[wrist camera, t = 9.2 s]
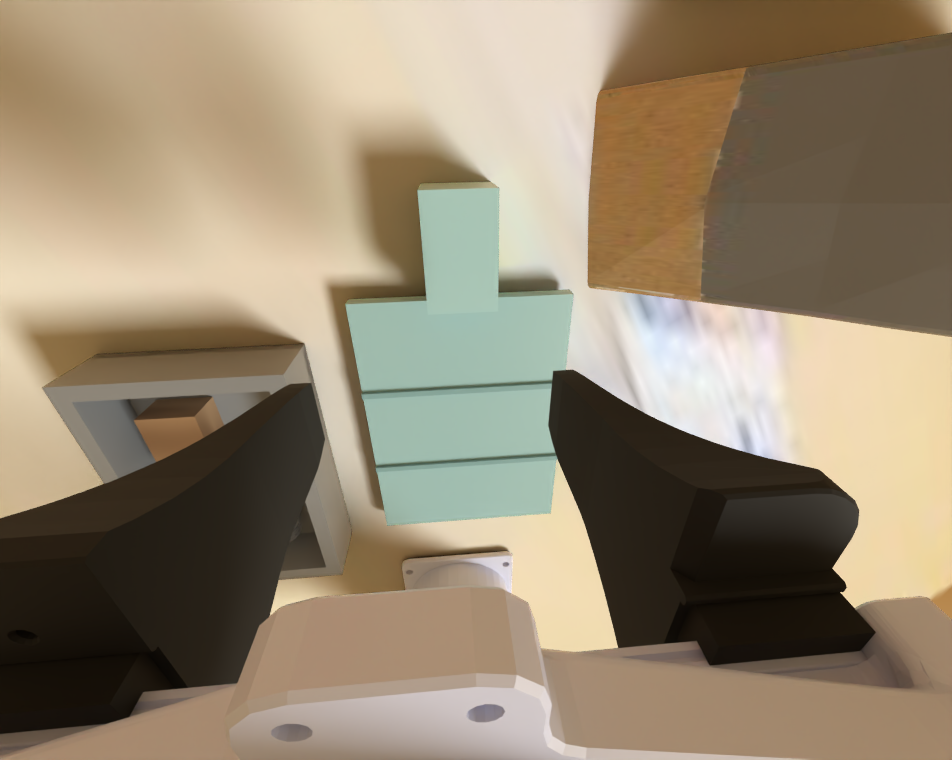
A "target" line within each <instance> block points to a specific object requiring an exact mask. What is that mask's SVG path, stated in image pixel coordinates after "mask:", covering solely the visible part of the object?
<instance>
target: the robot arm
mask: <svg viewBox="0 0 952 760" xmlns="http://www.w3.org/2000/svg"><path fill="white" fill-rule="evenodd" d="M548 427H549V431H550V435H551V439H552V443H553V447H554V450H555V454H556V456H557V459H558V461H559V463H560V466H561V468H562V470H563V473H564V475H565V478H566V480H567V482H568V485H569V487H570V489H571V492H572V494H573V496H574V499H575V501H576V503H577V506H578V508H579V510H580V513H581V515H582V518H583V521H584V524H585V526H586V530H587V533H588V536H589V540H590V543H591V546H592V550H593V553H594V556H595V560H596V564H597V567H598V571H599V574H600V578H601V581H602V585H603V589H604V592H605V596H606V600H607V604H608V608H609V612H610V616H611V620H612V624H613V628H614V632H615V636H616V640H617V645H618V648H614V649H604V650H593V651H582V652H568V651H560V650H551V649H542V648H540V643H539V638H538V633H537V628H536V623H535V620H534V617H533V614H532V612H531V609H530V606H529V604H528V602H526V601H524V600H522V599H520V598H519V597H517V596H515V595H513V594H511V590H512V565H513V558H512V553H510V552H508V551H502V552H489V553H477V554H464V555H452V556H440V557H427V558H415V559H406V560H404V561H403V562H402V572H403V578H404V584H405V589H406V590H399V591H387V592H374V593H362V594H349V595H337V596H325V597H315V598H311V599H307V600H304V601H300V602H296V603H292V604H288V605H285V606H283V607H281V608H279V609H278V610H277V611H275V612H274V613H273V614H272V615H271V616H270V612H271V608H272V604H273V600H274V596H275V592H276V588H277V584H278V580H279V576H280V572H281V569H282V565H283V562H284V558H285V554H286V551H287V547H288V544H289V542H290V539H291V536H292V533H293V530H294V528H295V525H296V523H297V520H298V518H299V516H300V513H301V511H302V508H303V506H304V503H305V501H306V498H307V496H308V493H309V491H310V488H311V486H312V483H313V481H314V478H315V476H316V473H317V470H318V468H319V464H320V460H321V456H322V451H323V447H324V442H325V436H324V432H323V428H322V424H321V420H320V416H319V412H318V408H317V404H316V400H315V395H314V391H313V387H312V383H297V384H289V385H287V386H285V387H283V388H281V389H280V390H278V391H277V392H275V393H273V394H272V395H270V396H269V397H267V398H266V399H264V400H263V401H261V402H260V403H258V404H257V405H255V406H254V407H252V408H251V409H249V410H248V411H246V412H245V413H243V414H242V415H240V416H239V417H237V418H235V419H234V420H232V421H231V422H229V423H227V424H226V425H224V426H222V427H221V428H219V429H217V430H216V431H214V432H212V433H211V434H209V435H207V436H206V437H204V438H202V439H201V440H199V441H197V442H195V443H193V444H191V445H190V446H188V447H186V448H184V449H182V450H180V451H178V452H176V453H174V454H172V455H170V456H168V457H166V458H164V459H162V460H160V461H157V462H155V463H153V464H151V465H148V466H146V467H144V468H141V469H139V470H137V471H134V472H132V473H130V474H127V475H125V476H123V477H120V478H118V479H116V480H113V481H111V482H108V483H105V484H103V485H100V486H98V487H95V488H92V489H90V490H87V491H84V492H81V493H78V494H76V495H73V496H70V497H67V498H64V499H61V500H58V501H55V502H52V503H49V504H46V505H43V506H40V507H37V508H33V509H30V510H27V511H23V512H20V513H17V514H13V515H10V516H7V517H4V518H0V760H952V619H951V618H949V617H948V616H947V615H946V614H945V613H944V612H943V611H942V610H940V609H939V607H937V606H936V605H935V604H934V603H933V602H932V601H931V600H930V599H929V598H927V597H922V596H918V597H906V598H895V599H884V600H874V601H870V602H866V603H863V604H861V605H859V606H857V607H856V608H854V607H853V606H852V605H851V604H850V603H849V602H848V601H847V600H846V599H845V597H844V596H843V595H842V594H841V593H840V592H844V591H845V589H846V588H847V587H846V584H845V582H844V581H843V580H842V578H841V577H840V576H839V575H838V574H837V573H836V572H835V571H834V570H833V569H832V568H833V566H834V565H835V563H836V562H837V560H838V558H839V557H840V555H841V554H842V552H843V551H844V549H845V548H846V546H847V545H848V543H849V542H850V540H851V539H852V537H853V535H854V533H855V530H856V528H857V526H858V518H859V509H858V507H857V504H856V502H855V500H854V499H853V498H851V497H850V496H849V495H848V494H847V493H846V492H844V491H843V490H842V489H841V488H840V487H839V486H838V485H836V484H835V483H834V482H833V481H832V480H831V479H829V478H828V477H827V476H826V475H825V474H824V473H822V472H821V471H820V470H818V469H814V468H810V467H805V466H801V465H796V464H791V463H787V462H782V461H778V460H773V459H768V458H764V457H761V456H757V455H753V454H750V453H746V452H743V451H739V450H736V449H732V448H729V447H726V446H723V445H720V444H717V443H714V442H711V441H708V440H705V439H703V438H700V437H697V436H694V435H692V434H689V433H687V432H684V431H682V430H679V429H677V428H675V427H672V426H670V425H668V424H666V423H664V422H661V421H659V420H657V419H655V418H653V417H651V416H649V415H647V414H645V413H643V412H642V411H640V410H638V409H636V408H634V407H633V406H631V405H629V404H627V403H626V402H624V401H622V400H620V399H619V398H617V397H616V396H614V395H612V394H611V393H609V392H608V391H606V390H605V389H603V388H601V387H600V386H598V385H597V384H595V383H594V382H592V381H591V380H589V379H588V378H586V377H585V376H583V375H581V374H580V373H578V372H576V371H574V370H558V371H553V377H552V388H551V399H550V410H549V422H548ZM269 616H270V617H269Z"/></svg>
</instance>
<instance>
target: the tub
mask: <svg viewBox="0 0 952 760" xmlns="http://www.w3.org/2000/svg"><path fill="white" fill-rule="evenodd" d="M297 383H312V387H313V391H314V395H315V400H316V404H317V408H318V412H319V416H320V420H321V424H322V428H323V432H324V436H325V442H324V447H323V451H322V456H321V460H320V464H319V468H318V470H317V473H316V476H315V478H314V481H313V483H312V486H311V488H310V491H309V493H308V496H307V498H306V501H305V503H304V506H303V508H302V511H301V513H300V516H299V521H300V523H301V527H302V529H301V532H300V534H299V536H298V537H297V538H296V539H294V540H293V541H291V542H289V544H288V547H287V551H286V554H285V558H284V562H283V565H282V569H281V572H280V576H279V580H282V579H295V578H307V577H319V576H331V575H342V574H343V570H344V565H345V561H346V556H347V552H348V548H349V543H350V539H351V534H352V529H351V525H350V521H349V517H348V513H347V509H346V506H345V502H344V498H343V494H342V490H341V486H340V482H339V478H338V474H337V470H336V466H335V462H334V458H333V454H332V450H331V446H330V443H329V439H328V435H327V431H326V427H325V423H324V419H323V415H322V411H321V407H320V403H319V399H318V395H317V391H316V387H315V383H314V380H313V376H312V372H311V368H310V364H309V360H308V356H307V352H306V348H305V344H293V345H273V346H253V347H233V348H212V349H192V350H172V351H152V352H132V353H112V354H97V355H95V356H93V357H92V358H90V359H88V360H87V361H85V362H83V363H82V364H80V365H78V366H77V367H75V368H73V369H72V370H70V371H69V372H67V373H65V374H64V375H62V376H60V377H59V378H57V379H55V380H54V381H52V382H50V383H49V384H47V385H45V386H44V387H42V388H43V390H44V392H45V393H46V395H47V396H48V398H49V399H50V401H51V402H52V404H53V405H54V407H55V409H56V410H57V412H58V413H59V415H60V416H61V418H62V419H63V421H64V422H65V424H66V425H67V427H68V429H69V430H70V432H71V433H72V435H73V436H74V438H75V439H76V441H77V442H78V444H79V446H80V447H81V449H82V450H83V452H84V453H85V455H86V456H87V458H88V459H89V461H90V463H91V464H92V466H93V467H94V469H95V470H96V472H97V473H98V475H99V476H100V478H101V479H102V481H103V483H104V484H105V483H108V482H111V481H113V480H116V479H118V478H120V477H123V476H125V475H127V474H130V473H132V472H134V471H137V470H139V469H141V468H144V467H146V466H148V465H151V464H153V463H155V462H156V461H155V459H154V457H153V455H152V453H151V452H150V450H149V448H148V446H147V444H146V442H145V440H144V439H143V437H142V435H141V433H140V431H139V429H138V427H137V426H136V424H135V422H134V419H136V418H137V417H138V416H139V415H140V414H141V413H142V412H143V411H145V410H146V409H147V408H148V407H149V406H150V405H151V404H152V403H153V402H155V401H156V400H164V399H182V398H200V397H213V399H214V402H215V404H216V406H217V409H218V411H219V414H220V416H221V419H222V421H223V424H224V425H226V424H227V423H229V422H231V421H232V420H234V419H235V418H237V417H239V416H240V415H242V414H243V413H245V412H246V411H248V410H249V409H251V408H252V407H254V406H255V405H257V404H258V403H260V402H261V401H263V400H264V399H266V398H267V397H269V396H270V395H272V394H273V393H275V392H277V391H278V390H280V389H281V388H283V387H285V386H287V385H289V384H297Z"/></svg>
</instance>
